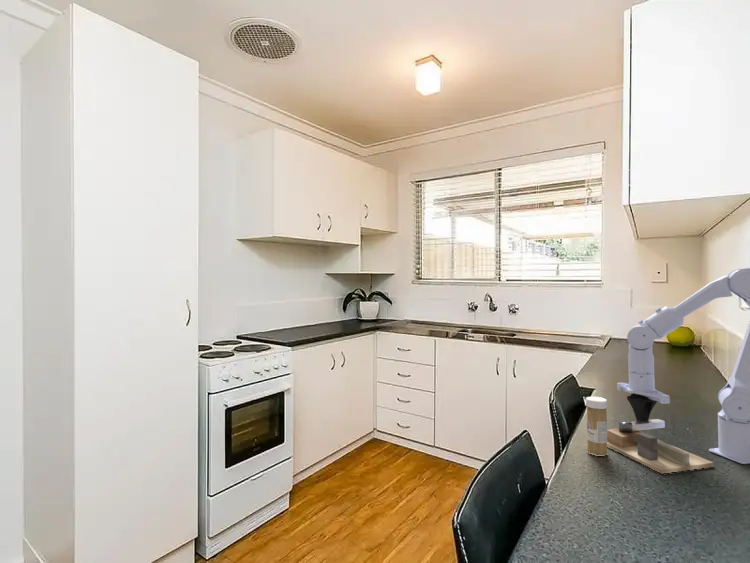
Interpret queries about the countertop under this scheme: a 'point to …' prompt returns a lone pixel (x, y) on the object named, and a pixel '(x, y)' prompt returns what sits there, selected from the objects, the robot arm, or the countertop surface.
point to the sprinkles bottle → (597, 425)
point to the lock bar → (640, 425)
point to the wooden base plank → (654, 452)
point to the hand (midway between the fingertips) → (642, 424)
